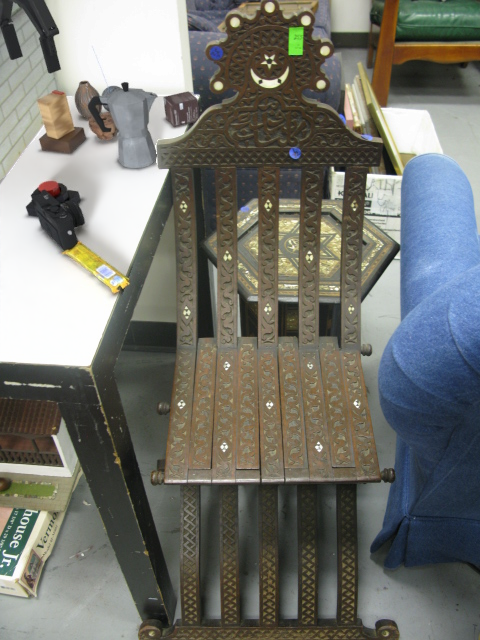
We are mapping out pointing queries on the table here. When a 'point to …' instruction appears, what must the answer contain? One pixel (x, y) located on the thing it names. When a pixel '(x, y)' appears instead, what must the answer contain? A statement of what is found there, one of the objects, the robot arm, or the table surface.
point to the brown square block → (63, 141)
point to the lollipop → (109, 91)
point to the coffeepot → (129, 124)
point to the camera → (58, 218)
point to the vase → (85, 98)
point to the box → (181, 109)
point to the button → (50, 187)
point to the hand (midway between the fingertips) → (35, 64)
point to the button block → (57, 198)
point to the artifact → (108, 124)
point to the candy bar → (97, 266)
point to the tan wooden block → (56, 114)
